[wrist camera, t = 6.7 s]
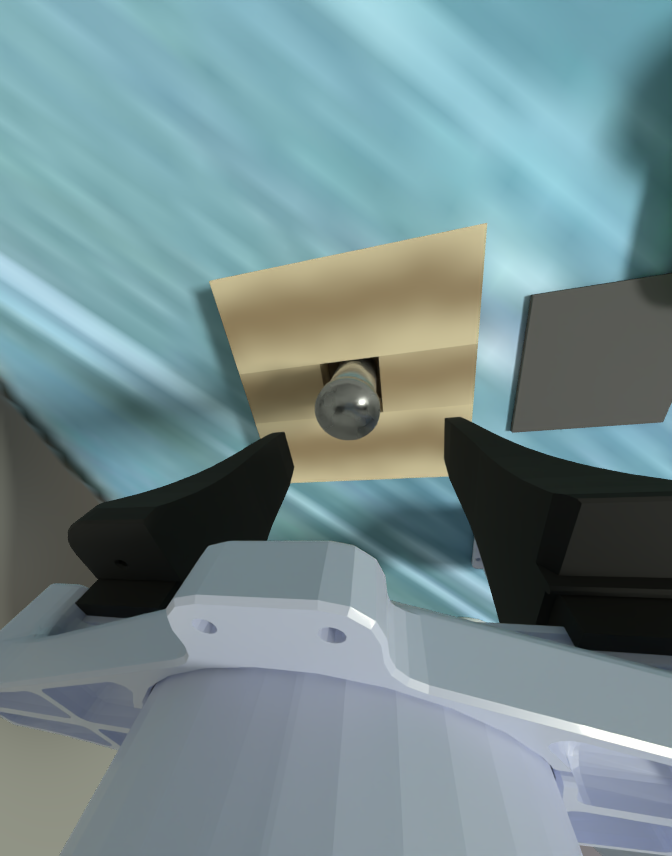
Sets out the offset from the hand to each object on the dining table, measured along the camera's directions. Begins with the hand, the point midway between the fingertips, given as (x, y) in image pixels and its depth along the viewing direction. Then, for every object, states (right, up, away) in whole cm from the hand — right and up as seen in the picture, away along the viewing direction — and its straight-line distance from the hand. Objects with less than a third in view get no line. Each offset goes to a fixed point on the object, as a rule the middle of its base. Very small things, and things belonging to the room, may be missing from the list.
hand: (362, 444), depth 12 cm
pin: (0, +5, +9) cm, 10 cm away
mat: (+17, +5, +6) cm, 19 cm away
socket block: (0, +5, +9) cm, 10 cm away
